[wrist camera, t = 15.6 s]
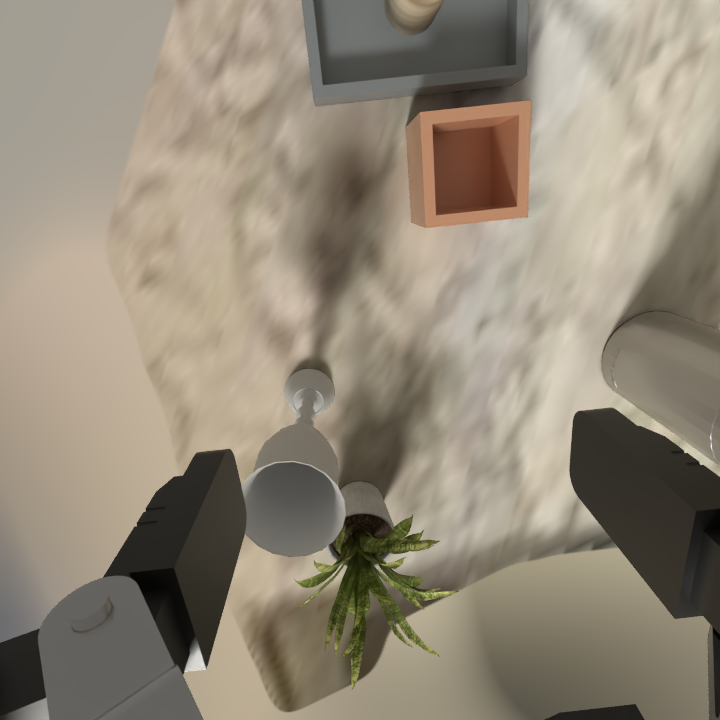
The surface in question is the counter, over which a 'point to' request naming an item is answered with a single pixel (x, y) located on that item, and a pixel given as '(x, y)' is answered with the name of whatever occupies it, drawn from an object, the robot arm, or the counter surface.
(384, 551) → the house plant
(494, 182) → the terracotta open box
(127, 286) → the counter surface
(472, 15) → the tray
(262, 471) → the chalice
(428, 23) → the peg
